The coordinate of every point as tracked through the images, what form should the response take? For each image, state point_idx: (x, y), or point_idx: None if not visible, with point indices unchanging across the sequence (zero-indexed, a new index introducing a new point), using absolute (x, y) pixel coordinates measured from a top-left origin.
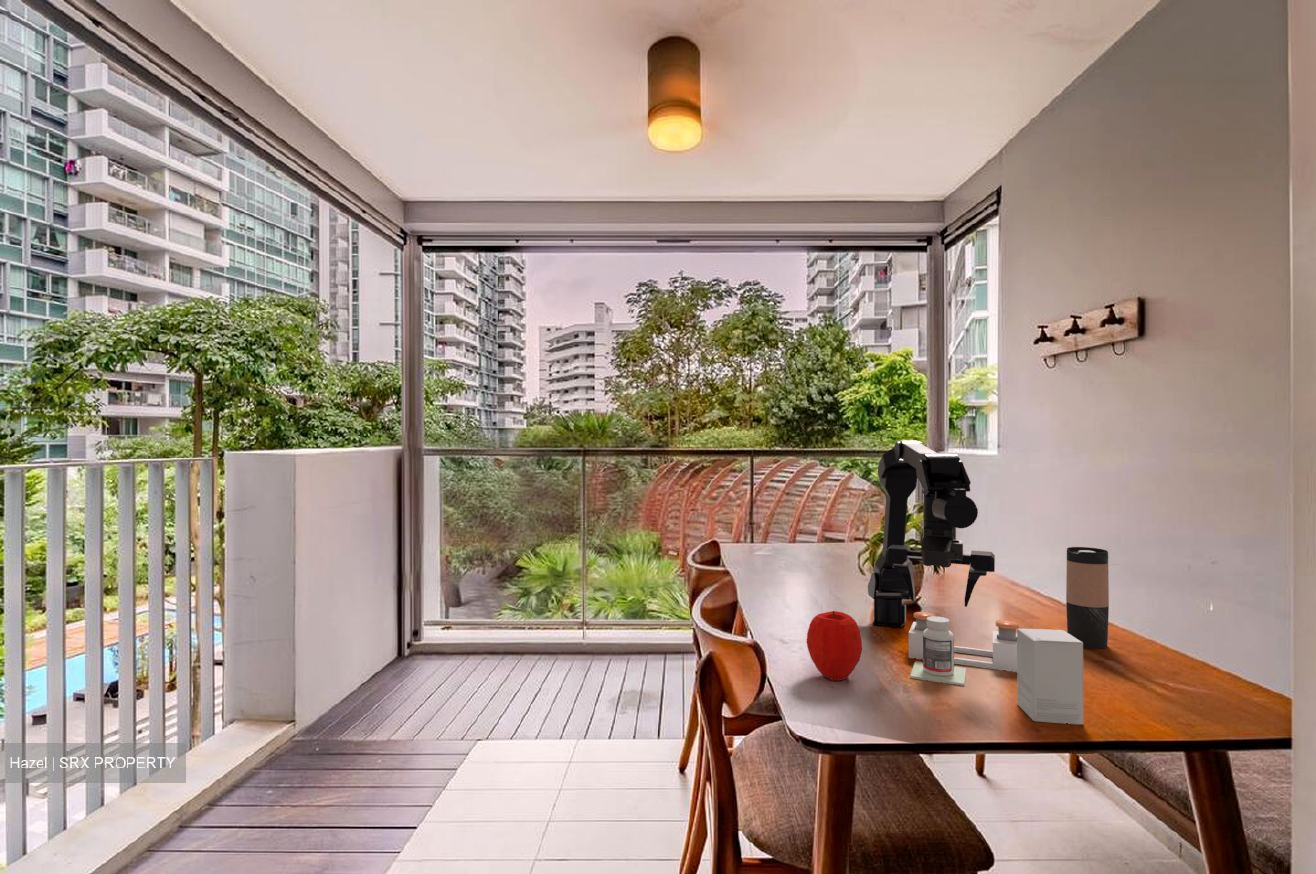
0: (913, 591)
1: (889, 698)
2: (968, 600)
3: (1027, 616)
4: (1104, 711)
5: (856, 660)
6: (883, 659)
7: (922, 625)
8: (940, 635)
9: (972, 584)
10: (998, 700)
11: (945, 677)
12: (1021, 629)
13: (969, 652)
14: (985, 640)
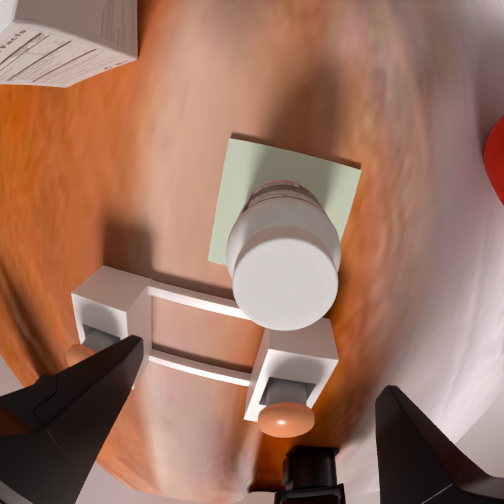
0: (402, 421)
1: (412, 36)
2: (108, 348)
3: (127, 462)
4: (28, 102)
5: (501, 120)
6: (389, 297)
7: (294, 393)
8: (285, 208)
9: (30, 395)
10: (169, 67)
11: (270, 175)
12: (8, 14)
13: (192, 362)
14: (166, 414)
